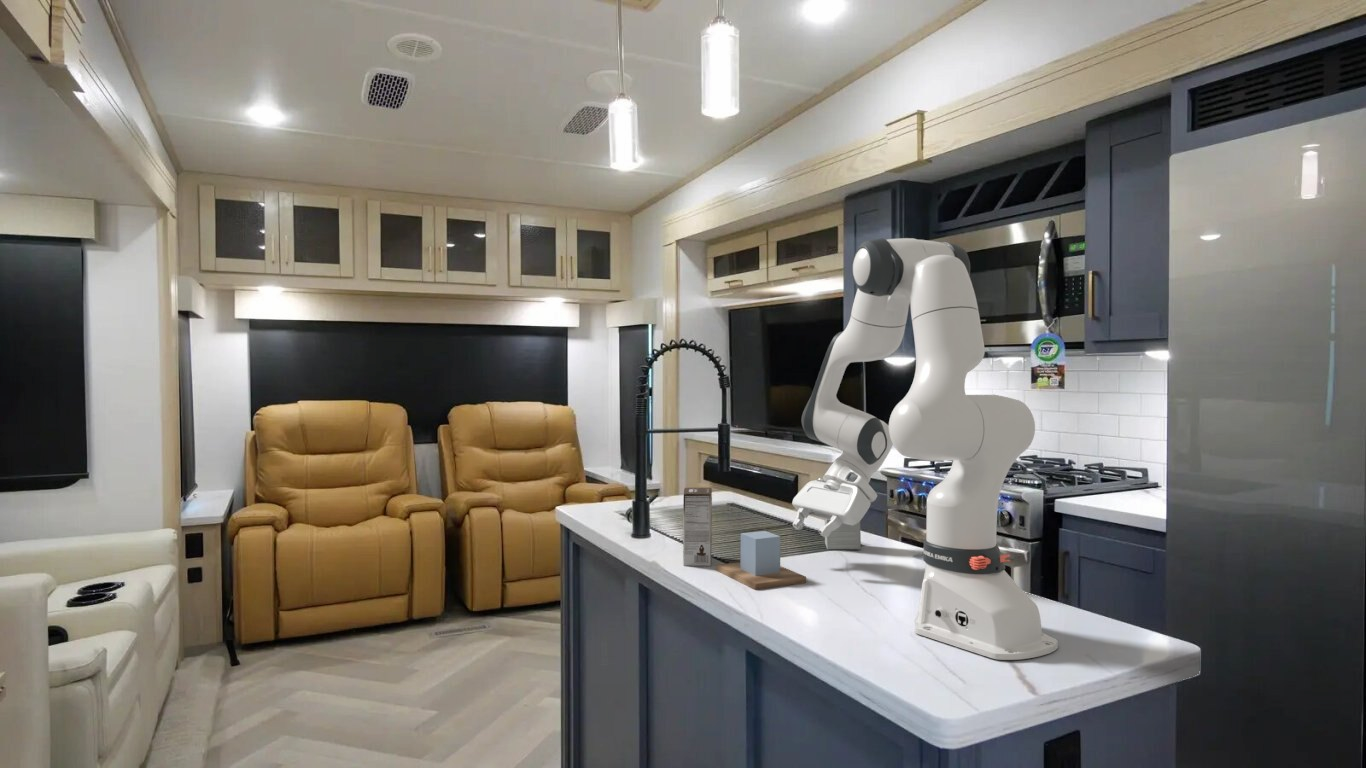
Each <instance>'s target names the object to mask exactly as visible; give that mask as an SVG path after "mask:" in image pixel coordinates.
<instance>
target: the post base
mask: <svg viewBox="0 0 1366 768" xmlns="http://www.w3.org/2000/svg"><path fill="white" fill-rule="evenodd" d="M740 566H741V561H737V562H729V563H722V564H716V571H717V572H719V573H721V574H722V575H725V576H727V577H729V578H731V579H732V580H735V581H736V582H739V583H741V584H743V585H745V586H747V587H749V588H750V589H753V590H757V589H758V590H762V589H763V590H764V588H765V589H770V588H771V587H772V588H777V587H778V586H779V587H783V586H790V585H792V586H793V585H798V584H805V583H807V576H805V575H802V574H801V573H798V572H796V571H793V570H792V569H789V568H786V567H784V566H782V565H780V573H773V574H766V575H758V576H755V575H753V574H750V573H748V572H746V571H744V570H742V569H740ZM779 587H778V588H779Z"/></svg>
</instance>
